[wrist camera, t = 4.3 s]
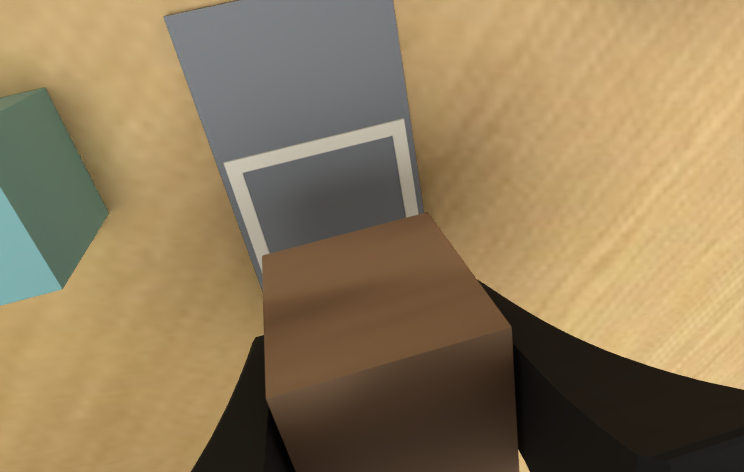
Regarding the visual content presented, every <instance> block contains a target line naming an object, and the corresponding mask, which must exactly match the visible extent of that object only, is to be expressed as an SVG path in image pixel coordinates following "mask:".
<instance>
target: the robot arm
mask: <svg viewBox="0 0 744 472" xmlns="http://www.w3.org/2000/svg"><path fill="white" fill-rule="evenodd" d="M478 282H479V283H480V285H481V286H482V287H483V289H484V290H485V291H486V293H487V294H488V295H489V297H490V298H491V300H492V301H493V302H494V304H495V305H496V306H497V308H498V309H499V310H500V312H501V313H502V315H503V316H504V317H505V319H506V320H507V321H508V323H509V324H510V325H511V327H512V343H513V362H514V381H515V401H516V420H517V439H518V450H519V451H520V453H521V455H522V457H523V459H524V460H525V462H526V464H527V466H528V468H529V471H530V472H744V390H742V389H737V388H732V387H728V386H723V385H718V384H713V383H708V382H704V381H700V380H696V379H693V378H689V377H685V376H681V375H678V374H674V373H670V372H667V371H664V370H660V369H657V368H654V367H651V366H647V365H645V364H642V363H639V362H636V361H633V360H630V359H627V358H624V357H621V356H619V355H616V354H614V353H611V352H608V351H606V350H603V349H601V348H599V347H596V346H594V345H592V344H589V343H587V342H585V341H582V340H580V339H578V338H576V337H574V336H572V335H570V334H567V333H565V332H564V331H562V330H560V329H558V328H556V327H554V326H552V325H550V324H548V323H546V322H544V321H543V320H541V319H539V318H537V317H536V316H534V315H532V314H531V313H529V312H527V311H526V310H524V309H522V308H521V307H519V306H517V305H516V304H514V303H513V302H511V301H509V300H508V299H506V298H505V297H503V296H502V295H500V294H499V293H497V292H496V291H494V290H493V289H491V288H490V287H488V286H487V285H485V284H483V283H482V282H480V281H479V280H478ZM191 472H296V471H295V469H294V466H293V464H292V461H291V459H290V457H289V454H288V452H287V449H286V447H285V444H284V442H283V439H282V437H281V435H280V432H279V430H278V427H277V425H276V422H275V420H274V417H273V415H272V413H271V410H270V408H269V405H268V403H267V400H266V387H265V350H264V335H262V336H259V337H256V338H255V339H254V341H253V343H252V346H251V349H250V352H249V354H248V357H247V360H246V363H245V365H244V368H243V370H242V373H241V375H240V378H239V380H238V382H237V385H236V387H235V389H234V392H233V394H232V396H231V398H230V401H229V403H228V405H227V407H226V409H225V411H224V413H223V415H222V417H221V419H220V421H219V423H218V425H217V427H216V429H215V431H214V433H213V435H212V437H211V438H210V440H209V442H208V444H207V446H206V447H205V449H204V451H203V453H202V454H201V456H200V458H199V459H198V461H197V462H196V464H195V466H194V467H193V469H192V471H191Z"/></svg>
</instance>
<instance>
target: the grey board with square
mask: <svg viewBox="0 0 744 472" xmlns="http://www.w3.org/2000/svg"><path fill="white" fill-rule="evenodd" d="M164 20H165V23H166V26H167V28H168V31H169V34H170V37H171V39H172V42H173V45H174V48H175V50H176V53H177V56H178V59H179V62H180V64H181V67H182V70H183V73H184V75H185V78H186V81H187V84H188V86H189V89H190V92H191V95H192V98H193V100H194V103H195V106H196V109H197V111H198V114H199V117H200V120H201V122H202V125H203V128H204V131H205V134H206V136H207V139H208V142H209V145H210V147H211V150H212V153H213V156H214V159H215V161H216V164H217V167H218V170H219V172H220V175H221V178H222V181H223V183H224V186H225V189H226V192H227V195H228V197H229V200H230V203H231V206H232V208H233V211H234V214H235V217H236V219H237V222H238V225H239V228H240V231H241V233H242V236H243V239H244V242H245V244H246V247H247V250H248V253H249V256H250V258H251V261H252V264H253V267H254V269H255V272H256V275H257V278H258V280H259V283H260V286H261V289H262V292H263V277H262V256H263V255H266V254H270V253H274V252H278V251H282V250H285V249H289V248H293V247H297V246H301V245H304V244H308V243H312V242H316V241H320V240H323V239H327V238H331V237H335V236H339V235H342V234H346V233H350V232H354V231H358V230H361V229H365V228H369V227H373V226H377V225H380V224H384V223H388V222H392V221H396V220H399V219H403V218H407V217H411V216H415V215H418V214H422V213H424V209H423V202H422V196H421V189H420V182H419V175H418V168H417V161H416V154H415V148H414V141H413V134H412V127H411V120H410V113H409V107H408V100H407V93H406V86H405V79H404V72H403V66H402V59H401V52H400V45H399V38H398V31H397V24H396V18H395V11H394V4H393V0H237V1H232V2H228V3H223V4H218V5H214V6H209V7H204V8H200V9H195V10H190V11H186V12H181V13H176V14H172V15H167V16H164Z"/></svg>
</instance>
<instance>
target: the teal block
mask: <svg viewBox="0 0 744 472" xmlns="http://www.w3.org/2000/svg"><path fill="white" fill-rule="evenodd" d="M108 214H109V213H108V211H107V209H106V207H105V205H104V203H103V201H102V199H101V197H100V195H99V193H98V191H97V189H96V187H95V185H94V183H93V181H92V179H91V177H90V175H89V173H88V171H87V169H86V167H85V165H84V163H83V161H82V159H81V157H80V155H79V153H78V151H77V149H76V147H75V146H74V144H73V142H72V140H71V138H70V136H69V134H68V132H67V130H66V128H65V126H64V124H63V122H62V120H61V118H60V116H59V114H58V112H57V110H56V108H55V106H54V104H53V102H52V100H51V98H50V96H49V94H48V92H47V90H46V88H41V89H36V90H32V91H28V92H23V93H19V94H14V95H10V96H5V97H1V98H0V306H1V305H5V304H8V303H12V302H16V301H20V300H24V299H27V298H31V297H35V296H39V295H43V294H46V293H50V292H54V291H58V290H62V289H63V288H64V286H65V284H66V283H67V281H68V279H69V278H70V276H71V274H72V273H73V271H74V270H75V268H76V266H77V265H78V263H79V261H80V260H81V258H82V257H83V255H84V253H85V252H86V250H87V248H88V247H89V245H90V244H91V242H92V240H93V239H94V237H95V235H96V234H97V232H98V230H99V229H100V227H101V226H102V224H103V222H104V221H105V219H106V217H107V216H108Z"/></svg>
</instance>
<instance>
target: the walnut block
mask: <svg viewBox="0 0 744 472" xmlns="http://www.w3.org/2000/svg"><path fill="white" fill-rule="evenodd" d="M262 277H263V314H264V350H265V387H266V400H267V403H268V405H269V408H270V410H271V413H272V415H273V417H274V420H275V422H276V425H277V427H278V430H279V432H280V435H281V437H282V439H283V442H284V444H285V447H286V449H287V452H288V454H289V457H290V459H291V461H292V464H293V466H294V469H295V471H296V472H519V459H518V439H517V420H516V401H515V381H514V362H513V343H512V327H511V325H510V324H509V323H508V321H507V320H506V319H505V317H504V316H503V315H502V313H501V312H500V310H499V309H498V308H497V306H496V305H495V304H494V302H493V301H492V300H491V298H490V297H489V295H488V294H487V293H486V291H485V290H484V289H483V287H482V286H481V285H480V283H479V282H478V280H477V279H476V278H475V276H474V275H473V274H472V272H471V271H470V269H469V268H468V267H467V265H466V264H465V263H464V261H463V260H462V259H461V257H460V256H459V254H458V253H457V252H456V250H455V249H454V248H453V246H452V245H451V244H450V242H449V241H448V239H447V238H446V237H445V235H444V234H443V233H442V231H441V230H440V229H439V227H438V226H437V224H436V223H435V222H434V220H433V219H432V218H431V216H430V215H429V214H428V212H426V213H422V214H418V215H415V216H411V217H407V218H403V219H399V220H396V221H392V222H388V223H384V224H380V225H377V226H373V227H369V228H365V229H361V230H358V231H354V232H350V233H346V234H342V235H339V236H335V237H331V238H327V239H323V240H320V241H316V242H312V243H308V244H304V245H301V246H297V247H293V248H289V249H285V250H282V251H278V252H274V253H270V254H266V255H263V256H262Z"/></svg>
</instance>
